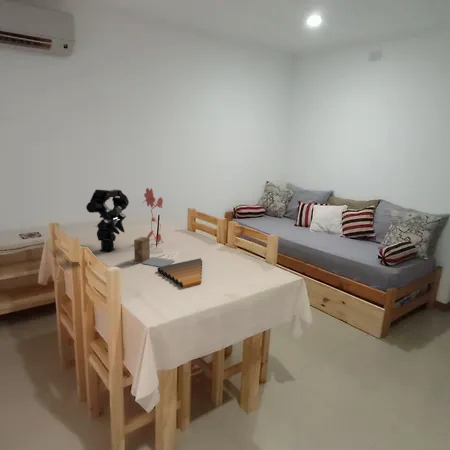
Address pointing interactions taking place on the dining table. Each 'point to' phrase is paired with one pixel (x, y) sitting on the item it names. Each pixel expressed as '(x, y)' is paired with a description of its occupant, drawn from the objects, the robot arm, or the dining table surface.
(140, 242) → the walnut block
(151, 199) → the red flower sculpture
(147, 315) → the dining table surface
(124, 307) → the dining table surface
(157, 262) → the felt mat
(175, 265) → the pan flute
